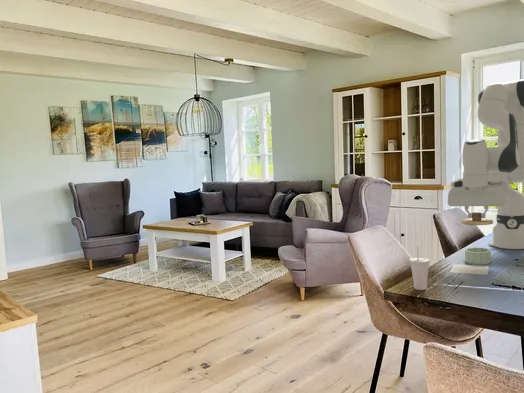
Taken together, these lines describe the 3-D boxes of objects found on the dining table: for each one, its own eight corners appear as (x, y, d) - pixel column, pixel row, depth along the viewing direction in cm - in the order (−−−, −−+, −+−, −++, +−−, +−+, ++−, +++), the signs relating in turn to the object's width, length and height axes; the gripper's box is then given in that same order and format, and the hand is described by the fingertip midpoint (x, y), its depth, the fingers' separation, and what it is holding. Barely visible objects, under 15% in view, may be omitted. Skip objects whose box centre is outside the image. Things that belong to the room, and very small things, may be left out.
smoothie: (406, 287, 148) (404, 246, 147) (420, 284, 151) (418, 243, 150) (421, 292, 142) (419, 249, 141) (435, 288, 145) (433, 246, 144)
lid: (462, 220, 179) (462, 210, 179) (493, 221, 174) (492, 210, 174) (460, 225, 170) (459, 214, 170) (492, 225, 165) (492, 214, 164)
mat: (453, 265, 171) (453, 264, 171) (488, 267, 165) (488, 266, 165) (450, 273, 161) (450, 272, 161) (487, 276, 155) (487, 274, 155)
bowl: (466, 259, 180) (465, 247, 179) (491, 260, 175) (491, 248, 175) (464, 264, 172) (463, 252, 171) (490, 266, 167) (490, 253, 167)
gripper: (506, 180, 168) (507, 216, 170) (448, 182, 178) (449, 216, 180) (506, 181, 163) (507, 219, 164) (446, 183, 173) (447, 218, 174)
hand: (476, 217), depth 172 cm, fingers closed on lid, 3 cm apart
